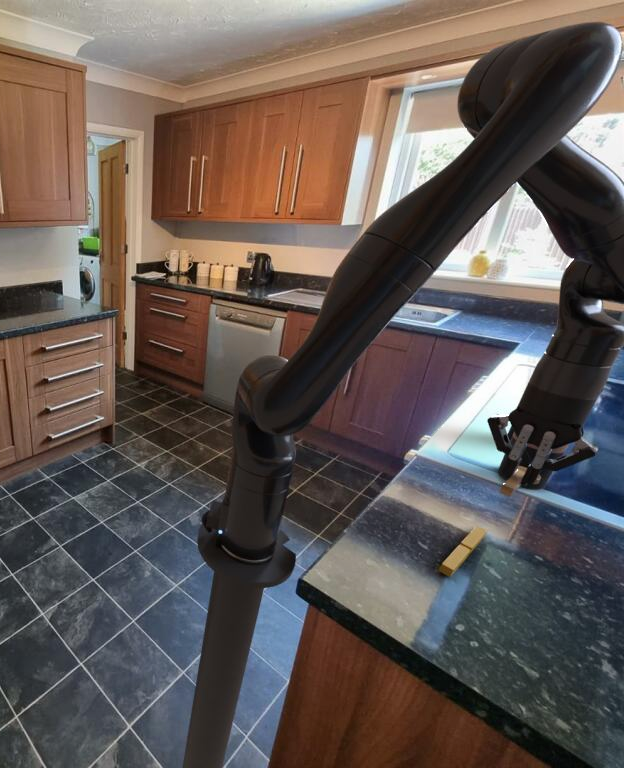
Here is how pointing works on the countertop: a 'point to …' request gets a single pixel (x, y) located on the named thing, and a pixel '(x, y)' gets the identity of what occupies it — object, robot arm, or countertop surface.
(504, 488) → the spoon
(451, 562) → the bar
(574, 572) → the countertop surface
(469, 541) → the bar
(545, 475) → the travel mug
